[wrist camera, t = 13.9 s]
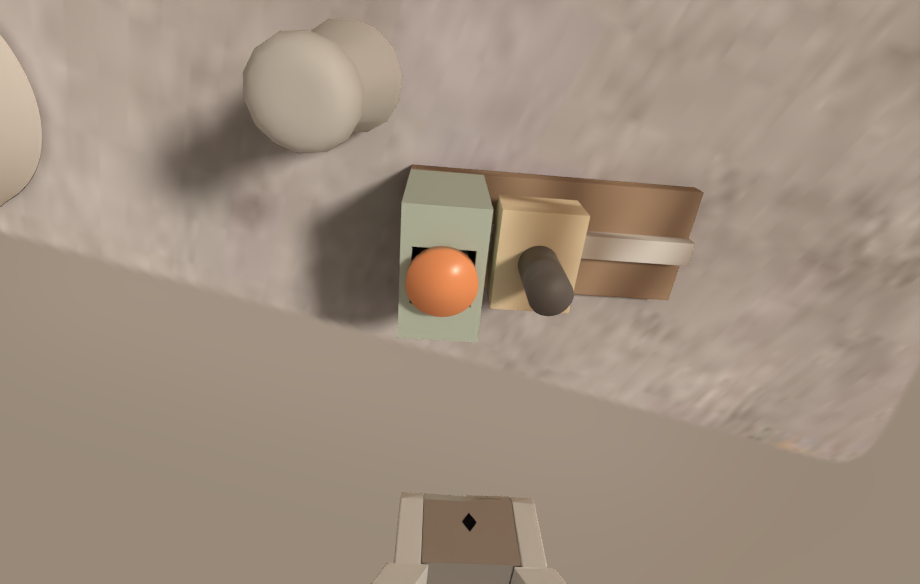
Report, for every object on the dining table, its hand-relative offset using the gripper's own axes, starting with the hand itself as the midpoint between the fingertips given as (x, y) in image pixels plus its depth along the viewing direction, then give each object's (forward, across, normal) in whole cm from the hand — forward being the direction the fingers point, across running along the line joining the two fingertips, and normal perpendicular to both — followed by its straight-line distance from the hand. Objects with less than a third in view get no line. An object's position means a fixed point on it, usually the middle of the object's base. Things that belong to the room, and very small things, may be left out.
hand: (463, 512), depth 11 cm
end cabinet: (+23, 0, +2) cm, 23 cm away
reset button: (+20, 0, +2) cm, 20 cm away
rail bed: (+24, -7, +2) cm, 25 cm away
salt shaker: (+24, +6, -7) cm, 26 cm away
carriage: (+21, -5, +2) cm, 22 cm away
